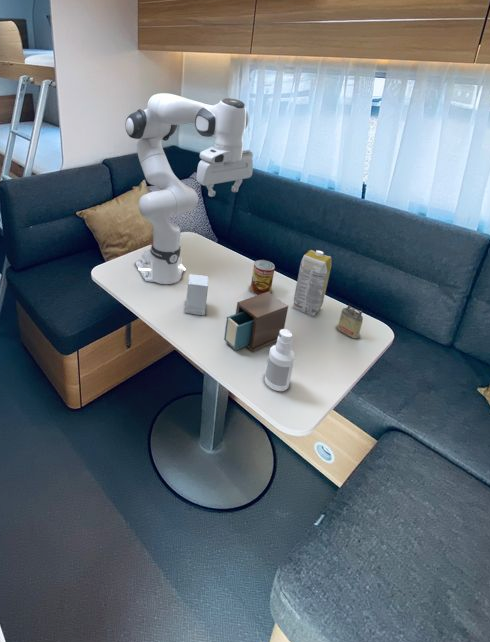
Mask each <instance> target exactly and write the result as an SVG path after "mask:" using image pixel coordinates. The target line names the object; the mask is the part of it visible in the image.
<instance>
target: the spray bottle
mask: <svg viewBox="0 0 490 642" xmlns="http://www.w3.org/2000/svg"><path fill="white" fill-rule="evenodd" d="M292 343H293V333H292V332H291V330H289V329H286V328H284V329H281V330H280V333H279V336H278V339H277V341H276V342H275V344H273V345H272V346H271V347H270V348H269V353H268V359H267V363H266V369H265V374H264V381H265V384H266V386H267V387H268V388H269V389H271V390H273V391H276V392H283V391H287V390H288V389H289V387H290V382H291V377H292V372H293V367H294V362H295V358H296V357H295V355H296V354H295V352H294V351H293V350H292Z"/></svg>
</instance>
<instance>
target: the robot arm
mask: <svg viewBox="0 0 490 642" xmlns="http://www.w3.org/2000/svg"><path fill="white" fill-rule="evenodd" d="M249 121H250V117H249V113H248V110H247V107H246V104H245V103H244V102H243V101H242V100H239V99H237V98H231V97H230V98H229V97H228V98H227V97H226V98H223V99H221V100H220V101H219V102H218V103H216V104H209V103H206V102H205V103H204V102H200V101H197V100H194V99H190V98H187V97H184V96H182V95H181V96H180V95H178V94H173V93H168V92H161V93H156V94H153V95H152V96H151V97H150V98H149V99H148V102H147V107H146V109H141V108H139V109H137V110H136V111H134V112H132V113H130V114H129V115H128V116H127V117H126V119H125V123H124V124H125V125H124V126H125V131H126V135H128V137H129V138H131V139H134V140H138V141H137V142H136V151H137V157H138V160H139V164H140V167H141V170H142V172H143V175H144V178H145V181H146V182H147V183H148V184H150V185H151V186H154V187H156V188H157V189H159V190H153V191H149V192H147V193H144V194H143V195H141V196H140V198H139V201H138V211H139V213H140V215H141V216H142V217H143V218H144V219H146V220H147V221H149V223H150V225H151V227H152V237H153V238H152V242H151V243H150V244H149V245H150V246H151V247H150V249H148V250H145V251H144V252H143V253H142V254H141V258H140V259H138V260H137V261H136V262H135V266H136V268H137V269H138V271H139V273H140V274H141V276H142V277H143V279H144V281H146V282H151V283H156V284H161V285H172V284H175V283H178V282H179V281H181V279H182V274H183V272H184V271H186V268H185V267H184V265H183V264H182V254H181V245H180V244H181V233H182V232H181V229H180V227H179V226H178V224H176V223H174V222H172V221H171V218H172V217H174V216H179V215H185V214H187V213H189V212H192V211H194V210H195V209H197V207H198V204H199V197H198V194H197V191H195V189H194V188H192V187H190V186H188V185H186V184H185V183H183V182H182V181H181V180H180V179H179V178H178V177H177V176H176V175H175V173H174V171H173V169H172V167H171V165H170V162H169V161H168V158H167V155H166V153H165V151H164V148H163V145H162V142H163V141H165V142H166V141H168V140H169V139H170V137H171V136H173V135H174V133H175V132H176V130H177V128H178V126H181V125H189V124H194V127H195V130H196V132H197V133H198V134H199V135H200V136H201V137H207V138H211V137H212V138H214V143H213V145H212V146H210V147H208V148H206V149H204V150H202V151H200V153H199V159H201V160H200V161H199V162H198V164H197V169H196V182H197V183H198V184H199V185H201V186H204V187H206V189H207V190H208V193H207V195H208V197H211V198H212V197H216V192H217V191H216V190H214V189H213V188H214V187H215V185H217V184H223V183H229V182H233V181H235V182H234V184H233V185H231V190H230V191H231V192H232V193H238V192H239V189H240V187H241V185H242V183H243V180H246V179H249V178H252V175H253V172H254V170H253V169H254V161H253V157H254V153H253V152H252V151H251V150H250V149H246V150H245V149H244V134H245V132H246V129H247V128H248V125H249Z"/></svg>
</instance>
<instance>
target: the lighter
mask: <svg viewBox="0 0 490 642" xmlns="http://www.w3.org/2000/svg"><path fill="white" fill-rule="evenodd" d="M362 314H363V311H362V310H358V309H357V308H354V307H352V306H351V305H350V304H349V305H347V307H343V308H342V309H341V312H340V316H339V321H338V324H337V327H336V328H337V330H338V331H339V332H340V333H342V334H344V335H346V336H348V337H350V338H351V339H358V338H360V337H359V335H360V332H361V329H362V325H363V322H364V316H363V315H362Z"/></svg>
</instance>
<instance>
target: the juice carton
mask: <svg viewBox="0 0 490 642" xmlns="http://www.w3.org/2000/svg"><path fill="white" fill-rule="evenodd" d="M331 268H332V257H331V256H330V255H326V254H324V251H322V250H317V249H316V251H315V250H312V249H310V250H308V251H307V252H306V253H304V254H303V257H302V258H301V261H300V265H299V269H298V275H297V281H296V285H295V291H294V296H293V308H294V309H296V310H298V311H300V312H302V313H304V314H307V315H309V316H311V317H314V316H316V314H317V313H318V312H319V311H320V309H321V308H322V306H323V304H324V300H325V295H326V291H327V287H328V284H329V283H328V282H329V278H330V274H331Z"/></svg>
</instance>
